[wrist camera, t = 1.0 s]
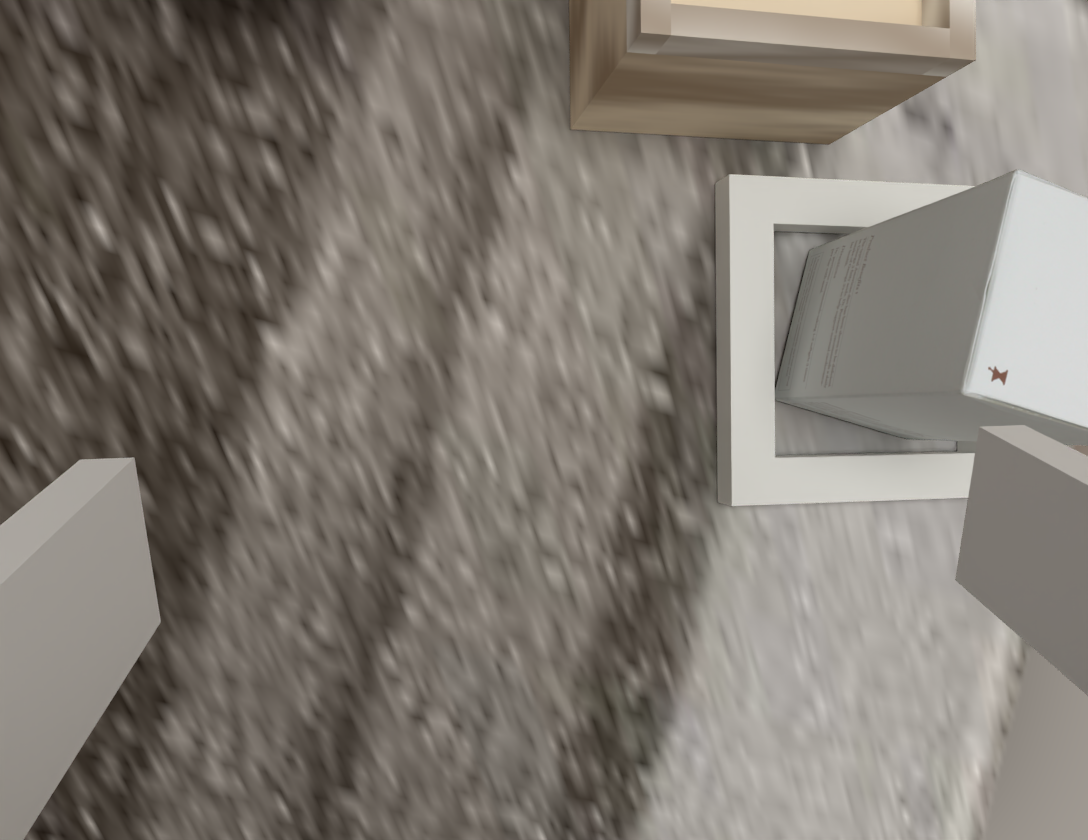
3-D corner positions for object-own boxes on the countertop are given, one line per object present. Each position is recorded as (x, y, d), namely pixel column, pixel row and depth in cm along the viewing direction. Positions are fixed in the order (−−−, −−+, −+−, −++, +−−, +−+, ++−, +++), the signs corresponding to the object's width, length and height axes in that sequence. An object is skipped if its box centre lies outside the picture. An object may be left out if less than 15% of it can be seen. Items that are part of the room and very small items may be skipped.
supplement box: (909, 443, 40) (1154, 458, 27) (766, 399, 38) (958, 395, 26) (948, 290, 40) (1208, 237, 28) (808, 242, 39) (1017, 162, 26)
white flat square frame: (994, 492, 41) (1018, 495, 39) (717, 502, 38) (731, 505, 36) (993, 196, 40) (1017, 188, 39) (715, 183, 38) (729, 174, 36)
